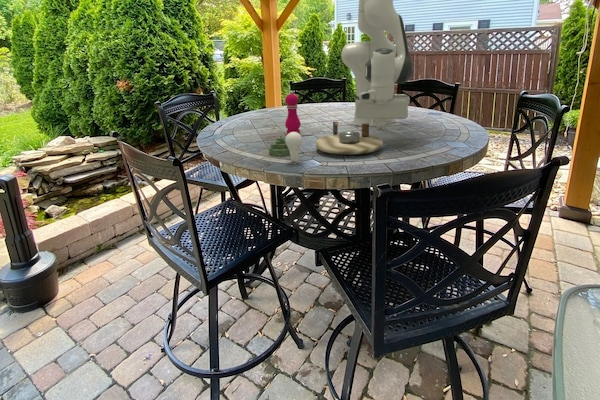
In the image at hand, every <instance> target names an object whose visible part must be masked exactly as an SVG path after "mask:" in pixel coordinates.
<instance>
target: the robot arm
mask: <svg viewBox="0 0 600 400" xmlns="http://www.w3.org/2000/svg"><path fill="white" fill-rule="evenodd" d="M393 1H394V0H358V11H357V12H358V13H357V28H358V30H359V32H361V33H363V34H364V35H366V36H368V37H369V38H370V41H355V42H350V43H346V44H345V45H344V47H342V50H341V60H342V62H343V64H344V65H345V66H347V67H348V68H349V69H350V70H351V72H352V73H353V77H354V79H355V87H356V88H355V93H356V94H355V96H354V97H355V101H354V104H355V105H354V106H355V109H354V117H353V119H352V120H353V121H352V125H355V126H359V127H360V126H361V127H362V124H364V123H367V124H369V127H376V130H377V131H385V129H386V127H385V126H386V125H389V124H394V123H397V120H406V119H407V118H408V115H409V107H408V106H409V105H410V102H411V99H410V98H411V97H410V96H409V95H407V94H406V93H395V84H405V83H406V82H408V81H409V80H410V79H411V78H412V77H413V70H414V68H413V67H414V66H413V62H412V58H411V55H410V51H409V45H408V41H407V33H406V29H405V25H404V20H403V17H402V15H401V14H399V13H397V11H396V9H395V7H394V2H393ZM385 32H386V33H387V34H388V33H389V34H390V35H391V36H392V37H393V40H394V43H393V42H392V41H391V40H390V39H389V38H388V37H387V35H386V33H385ZM396 119H397V120H396Z"/></svg>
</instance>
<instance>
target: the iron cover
mask: <svg viewBox="0 0 600 400" xmlns="http://www.w3.org/2000/svg"><path fill="white" fill-rule="evenodd" d="M338 134H339V142H340V143H343V144H356V143H359V142H360V134H361V133H360V132H358V131H353V130H346V131H343V132H340V133H338Z"/></svg>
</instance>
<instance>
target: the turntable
mask: <svg viewBox="0 0 600 400" xmlns="http://www.w3.org/2000/svg"><path fill="white" fill-rule="evenodd" d="M339 134H340V133H338V134H337V135H333V134H332V135H331V134H330V135H325V136H322V137H320V138H318V139H316V141H315V147H316V149H318V151H320V152H324V153H325V152H328V153H334V154H362V153H369V152H372V153H374V152H375V151H376V152H377V151H379V150H380V149H381V148H382V147H383V139H381V138H380V137H377V136H374V135H370V126H369V124H367V123H364V124H362V126H361V133H360V142H359V143H356V144H343V143H340V142H339Z"/></svg>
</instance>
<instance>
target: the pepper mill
mask: <svg viewBox="0 0 600 400" xmlns="http://www.w3.org/2000/svg"><path fill="white" fill-rule="evenodd" d="M298 102H299V97H298V95H297V94H294V91H293V90H289V94H287V95H286V97H285V103H286V109H287V117H286V120H285V124H284V126H285V128H286V129H287V130H286V136H287V135H288V134H289V133H291V132H297V133H299V134H300V135H301V130H300V128H301V121H300V119H299V116H298V112H297V109H298Z"/></svg>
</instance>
